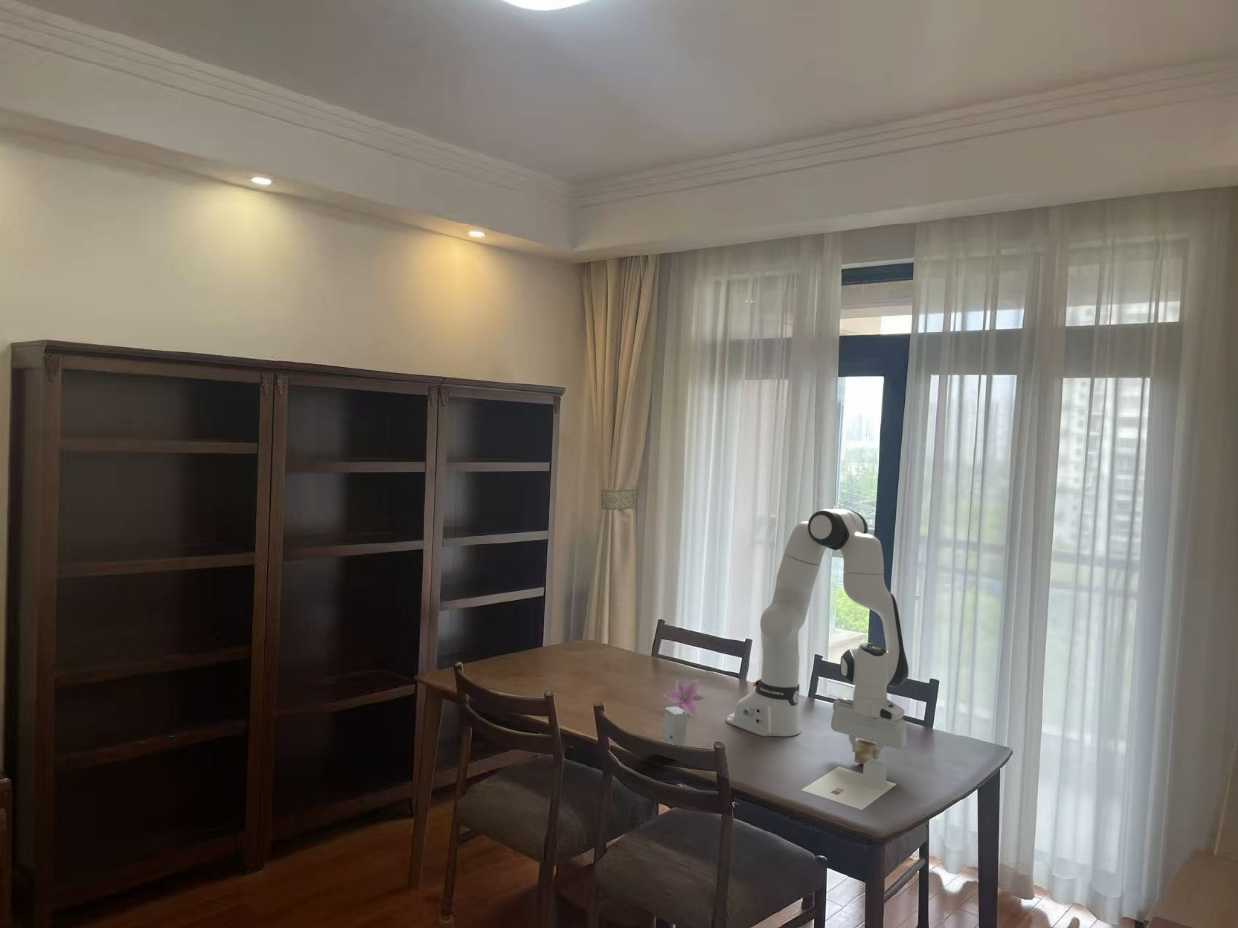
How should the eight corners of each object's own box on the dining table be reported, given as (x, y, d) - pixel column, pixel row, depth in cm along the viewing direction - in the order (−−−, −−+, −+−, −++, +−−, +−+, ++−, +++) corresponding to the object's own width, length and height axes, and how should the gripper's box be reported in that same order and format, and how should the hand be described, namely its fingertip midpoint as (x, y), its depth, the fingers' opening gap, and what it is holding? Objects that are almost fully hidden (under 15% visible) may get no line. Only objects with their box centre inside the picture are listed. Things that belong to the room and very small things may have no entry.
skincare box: (660, 750, 242) (663, 706, 242) (675, 748, 244) (677, 705, 243) (670, 758, 236) (673, 714, 236) (685, 756, 238) (688, 712, 238)
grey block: (862, 784, 225) (863, 763, 225) (869, 779, 228) (870, 758, 228) (879, 789, 222) (880, 768, 222) (886, 784, 225) (887, 763, 225)
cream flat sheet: (800, 790, 219) (801, 789, 219) (838, 767, 237) (838, 766, 236) (861, 810, 209) (861, 809, 209) (896, 784, 226) (896, 783, 226)
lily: (657, 711, 279) (660, 689, 274) (679, 690, 287) (682, 669, 282) (688, 731, 273) (691, 709, 268) (709, 709, 281) (713, 688, 276)
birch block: (854, 761, 238) (855, 741, 238) (861, 757, 241) (862, 737, 241) (870, 766, 235) (871, 746, 235) (877, 761, 238) (878, 741, 238)
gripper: (828, 698, 241) (825, 747, 242) (901, 716, 229) (898, 768, 229) (838, 693, 246) (835, 742, 247) (910, 711, 234) (907, 762, 234)
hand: (866, 755), depth 238 cm, fingers closed on birch block, 4 cm apart
